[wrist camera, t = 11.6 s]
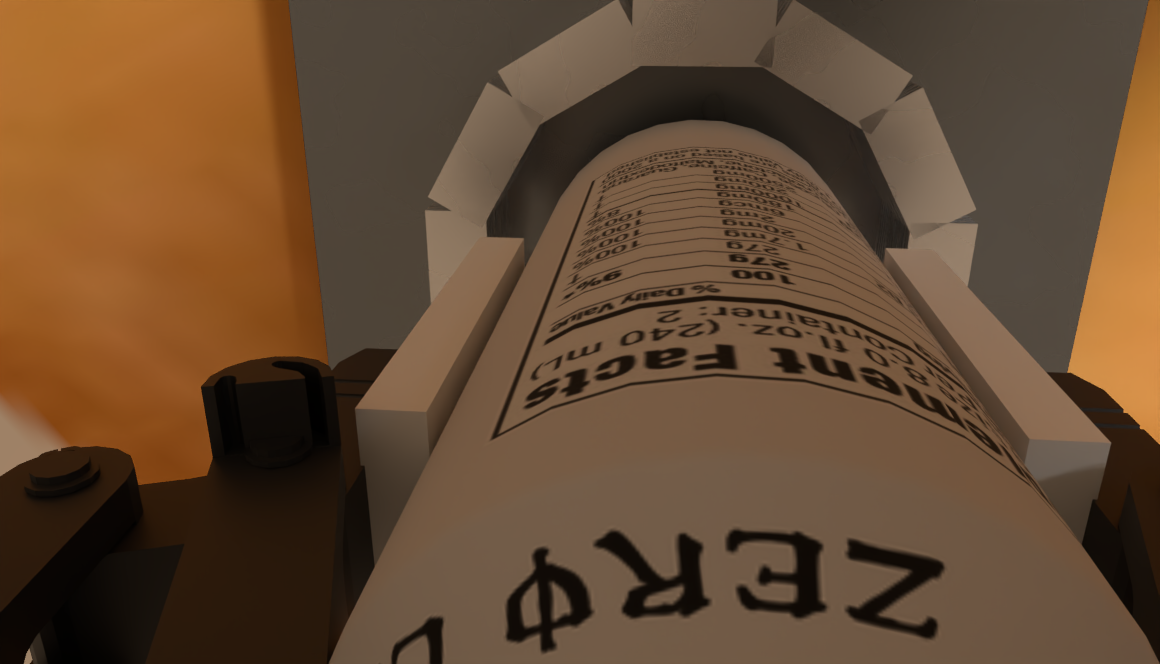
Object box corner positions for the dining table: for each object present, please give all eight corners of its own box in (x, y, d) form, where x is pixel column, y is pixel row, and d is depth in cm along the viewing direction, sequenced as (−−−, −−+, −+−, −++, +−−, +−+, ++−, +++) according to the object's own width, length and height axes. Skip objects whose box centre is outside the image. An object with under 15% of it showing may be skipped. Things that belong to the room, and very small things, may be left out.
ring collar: (287, -184, 18) (205, -217, 15) (1165, -197, 17) (1280, -236, 14) (360, 525, 25) (314, 609, 22) (1006, 561, 23) (1060, 657, 20)
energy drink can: (497, 304, 19) (52, 1142, 6) (643, 52, 17) (517, 391, 3) (734, 440, 20) (868, 1493, 6) (905, 213, 18) (1705, 1060, 4)
